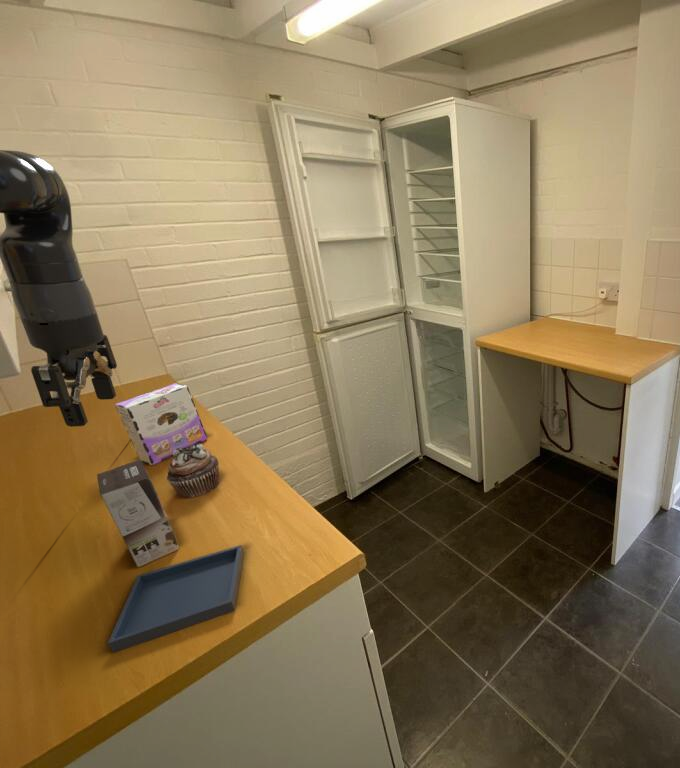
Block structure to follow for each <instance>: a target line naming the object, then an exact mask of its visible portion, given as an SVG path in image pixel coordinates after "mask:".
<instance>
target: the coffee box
mask: <svg viewBox="0 0 680 768" xmlns="http://www.w3.org/2000/svg"><path fill="white" fill-rule="evenodd" d="M96 477H97V483H98V488H99V494H100V496H101V499H102V500H103V502H104V504H105V506H106V508H107V510H108V512H109V514H110V516H111V518H112V520H113V522H114V524H115V526H116V528H117V530H118V531H119V533H120V536H121V538H122V539H123V542H124V543H125V545H126V547H127V549H128V551H129V553H130V555H131V558H132V559H133V561H134V563H135V565H136V567H137V568H140V567H142V566H145V565H147V564H149V563H152V562H153V561H156V560H158V559H160V558H162V557H164V556H167V555H169V554H171V553H173V552H176V551H179V549H180V546H179V544H178V541H177V537H176V534H175V532H174V529H173V526H172V524H171V522H170V519H169V517H168V515H167V512H166V510H165V507H164V506H163V504H162V501H161V499H160V497H159V495H158V492H157V490H156V489H155V485H154V483H153V481H152V479H151V477H150V476H149V473H148V471H147V468H146V467H145V465H144V462H143V461H142V460H140V459H138V460H134V461H131V462H129V463H126V464H122V465H119V466H117V467H114V468H112V469H109V470H106V471H103V472H100V473H97V474H96Z"/></svg>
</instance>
